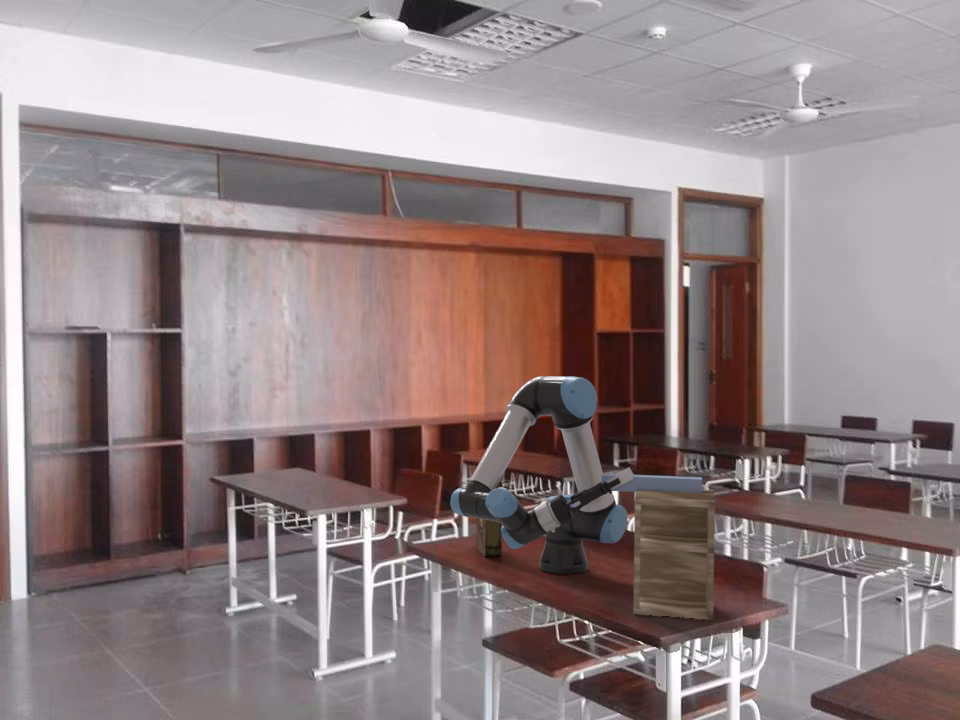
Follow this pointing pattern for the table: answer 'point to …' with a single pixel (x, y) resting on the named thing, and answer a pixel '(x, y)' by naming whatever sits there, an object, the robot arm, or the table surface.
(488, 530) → the book
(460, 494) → the robot arm
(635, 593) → the shelf stand
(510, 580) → the table surface
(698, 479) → the block
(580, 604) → the table surface
